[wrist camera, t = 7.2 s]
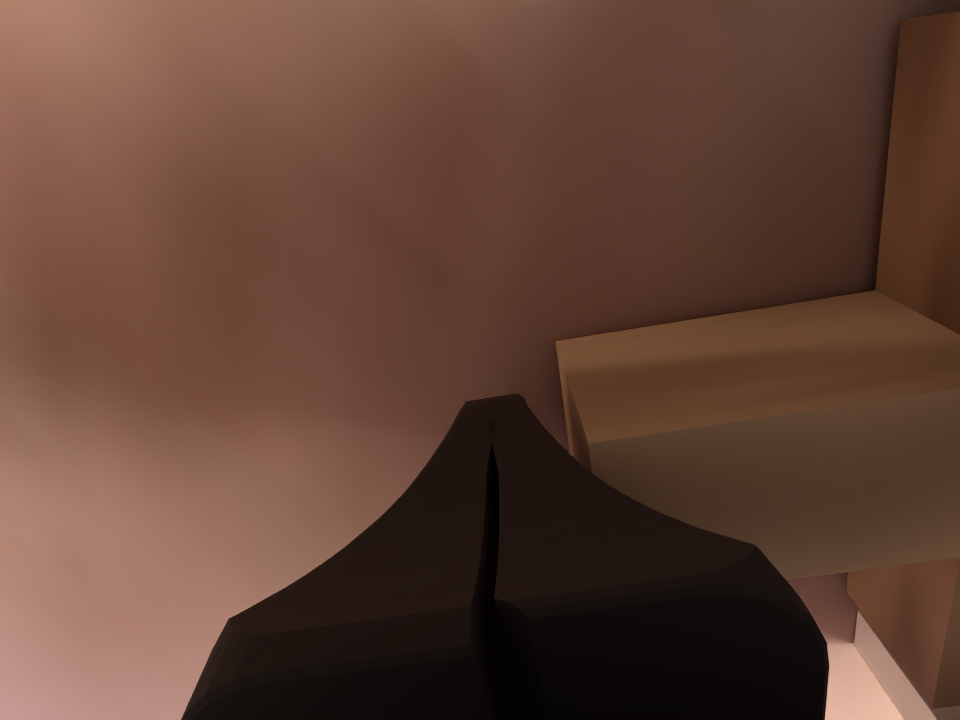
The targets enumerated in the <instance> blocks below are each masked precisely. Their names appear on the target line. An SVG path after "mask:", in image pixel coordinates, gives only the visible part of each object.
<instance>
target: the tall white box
mask: <svg viewBox="0 0 960 720" xmlns="http://www.w3.org/2000/svg"><path fill="white" fill-rule="evenodd" d="M854 646H855V648H856V649H857V651H858V652H859V654H860V655H861V657H862V658H863V660H864V661H865V663H866V664H867V665H868V667H869V668H870V670H871V671H872V673H873V674H874V676H875V677H876V679H877V680H878V682H879V683H880V685H881V686H882V688H883V689H884V691H885V692H886V694H887V695H888V697H889V698H890V699H891V701H892V702H893V704H894V705H895V707H896V708H897V710H898V711H899V713H900V714H901V716H902V717H903V719H904V720H960V705H959V706H951V707H943V708H935V709H932V708H931V707H930V706H929V704H928V703H927V702H926V700H925V699H924V697H923V696H922V695H921V693H920V692H919V691H918V689H917V688H916V687H915V685H914V684H913V682H912V681H911V680H910V678H909V677H908V676H907V674H906V673H905V671H904V670H903V669H902V667H901V666H900V665H899V663H898V662H897V661H896V659H895V658H894V656H893V655H892V654H891V652H890V651H889V650H888V648H887V647H886V645H885V644H884V643H883V641H882V640H881V639H880V637H879V636H878V635H877V633H876V632H875V630H874V629H873V628H872V626H871V625H870V624H869V622H868V621H867V620H866V618H865V617H864V615H863V614H862V613H861V611H860V610H858V612H857V621H856V631H855V640H854Z"/></svg>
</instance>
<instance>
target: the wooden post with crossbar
mask: <svg viewBox="0 0 960 720" xmlns="http://www.w3.org/2000/svg"><path fill="white" fill-rule="evenodd" d="M556 349H557V357H558V365H559V372H560V380H561V388H562V396H563V404H564V412H565V420H566V427H567V435H568V443H569V451H570V455H572V456H573V457H574V458H575V459H576V460H577V461H578V462H579V463H581V464H582V465H583V466H584V467H585V468H587V469H588V470H589V471H590V472H592V473H593V474H594V475H596V476H597V477H598V478H600V479H601V480H603V481H604V482H605V483H607V484H608V485H610V486H611V487H613V488H614V489H616V490H618V491H619V492H621V493H623V494H625V495H627V496H629V497H630V498H632V499H634V500H636V501H638V502H640V503H642V504H643V505H645V506H647V507H650V508H652V509H654V510H656V511H658V512H660V513H663V514H665V515H667V516H670V517H672V518H675V519H677V520H680V521H682V522H685V523H687V524H690V525H692V526H695V527H698V528H700V529H704V530H707V531H710V532H714V533H717V534H720V535H724V536H727V537H730V538H734V539H737V540H740V541H744V542H747V543H750V544H754V545H756V546H757V547H758V548H759V549H760V550H761V551H762V552H763V554H764V555H765V556H766V557H767V558H768V559H769V561H770V562H771V563H772V564H773V565H774V566H775V568H776V569H777V570H778V571H779V572H780V573H781V575H782V576H783V577H784V578H785V580H786V581H787V580H794V579H801V578H809V577H816V576H824V575H831V574H838V573H846V572H848V578H847V589H846V592H847V594H848V595H849V596H850V598H851V599H852V600H853V602H854V603H855V604H856V606H857V607H858V609H859V610H860V611H861V613H862V614H863V615H864V617H865V618H866V620H867V621H868V622H869V624H870V625H871V626H872V628H873V629H874V630H875V632H876V633H877V635H878V636H879V637H880V639H881V640H882V641H883V643H884V644H885V645H886V647H887V648H888V650H889V651H890V652H891V654H892V655H893V656H894V658H895V659H896V661H897V662H898V663H899V665H900V666H901V667H902V669H903V670H904V671H905V673H906V674H907V676H908V677H909V678H910V680H911V681H912V682H913V684H914V685H915V687H916V688H917V689H918V691H919V692H920V693H921V695H922V696H923V697H924V699H925V700H926V702H927V703H928V704H929V706H930V707H931V708H932V709H935V708H943V707H951V706H959V705H960V10H955V11H949V12H944V13H938V14H933V15H927V16H922V17H916V18H911V19H905V20H901V26H900V37H899V47H898V58H897V68H896V79H895V89H894V99H893V110H892V120H891V131H890V141H889V151H888V162H887V172H886V183H885V193H884V204H883V214H882V224H881V235H880V245H879V256H878V266H877V276H876V287H875V290H874V291H868V292H862V293H855V294H849V295H843V296H836V297H830V298H824V299H817V300H811V301H805V302H799V303H792V304H786V305H780V306H773V307H767V308H761V309H755V310H748V311H742V312H736V313H729V314H723V315H717V316H710V317H704V318H698V319H692V320H685V321H679V322H673V323H666V324H660V325H654V326H647V327H641V328H635V329H629V330H622V331H616V332H610V333H603V334H597V335H591V336H584V337H578V338H572V339H566V340H559V341H556Z"/></svg>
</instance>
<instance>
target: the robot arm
mask: <svg viewBox="0 0 960 720" xmlns="http://www.w3.org/2000/svg"><path fill="white" fill-rule="evenodd" d="M828 674H829V660H828V651H827V642H826V641H825V639H824V637H823V635H822V633H821V631H820V630H819V628H818V626H817V624H816V622H815V620H814V619H813V617H812V615H811V614H810V612H809V610H808V609H807V607H806V606H805V604H804V603H803V601H802V600H801V598H800V597H799V596H798V594H797V593H796V592H795V590H794V589H793V588H792V587H791V586H790V584H789V583H788V582H787V581H786V580H785V578H784V577H783V576H782V575H781V573H780V572H779V571H778V570H777V569H776V568H775V566H774V565H773V564H772V563H771V562H770V561H769V559H768V558H767V557H766V556H765V555H764V554H763V552H762V551H761V550H760V549H759V548H758V547H757V546H756V545H754V544H750V543H747V542H744V541H740V540H737V539H734V538H730V537H727V536H724V535H720V534H717V533H714V532H710V531H707V530H704V529H700V528H698V527H695V526H692V525H690V524H687V523H685V522H682V521H680V520H677V519H675V518H672V517H670V516H667V515H665V514H663V513H660V512H658V511H656V510H654V509H652V508H650V507H647V506H645V505H643V504H642V503H640V502H638V501H636V500H634V499H632V498H630V497H629V496H627V495H625V494H623V493H621V492H619V491H618V490H616V489H614V488H613V487H611V486H610V485H608V484H607V483H605V482H604V481H603V480H601V479H600V478H598V477H597V476H596V475H594V474H593V473H592V472H590V471H589V470H588V469H587V468H585V467H584V466H583V465H582V464H581V463H579V462H578V461H577V460H576V459H575V458H574V457H573V456H572V455H570V454H569V453H568V452H567V451H566V450H565V449H564V448H563V447H562V446H561V445H560V444H559V443H558V442H557V441H556V440H555V439H554V438H553V437H552V436H551V434H550V433H549V432H548V431H547V430H546V429H545V428H544V427H543V426H542V424H541V423H540V422H539V421H538V419H537V418H536V417H535V415H534V414H533V413H532V411H531V410H530V408H529V407H528V405H527V403H526V401H525V399H524V398H523V397H522V396H521V395H519V394H512V395H505V396H499V397H492V398H486V399H480V400H473V401H467V402H466V403H465V404H464V405H463V407H462V408H461V410H460V412H459V414H458V415H457V417H456V419H455V421H454V423H453V424H452V426H451V428H450V429H449V431H448V433H447V434H446V436H445V438H444V439H443V441H442V442H441V444H440V445H439V447H438V448H437V450H436V452H435V453H434V455H433V456H432V458H431V459H430V460H429V462H428V463H427V465H426V466H425V467H424V468H423V470H422V471H421V472H420V474H419V475H418V476H417V478H416V479H415V480H414V482H413V483H412V484H411V485H410V487H409V488H408V489H407V490H406V491H405V493H404V494H403V495H402V496H401V497H400V498H399V499H398V500H397V501H396V502H395V503H394V504H393V505H392V506H391V507H390V508H389V509H388V510H387V511H386V512H385V513H384V514H383V515H382V516H381V517H380V518H379V519H378V520H377V521H375V522H374V523H373V524H372V525H371V526H369V527H368V528H367V529H366V530H365V531H364V532H362V533H361V534H360V535H359V536H358V537H356V538H355V539H354V540H353V541H352V542H351V543H349V544H348V545H347V546H346V547H345V548H343V549H342V550H341V551H339V552H338V553H337V554H335V555H334V556H332V557H331V558H330V559H328V560H327V561H325V562H324V563H323V564H321V565H320V566H318V567H317V568H315V569H314V570H312V571H311V572H309V573H308V574H306V575H305V576H303V577H302V578H300V579H299V580H297V581H295V582H294V583H292V584H291V585H289V586H287V587H286V588H284V589H282V590H280V591H279V592H277V593H275V594H273V595H272V596H270V597H268V598H266V599H264V600H263V601H261V602H259V603H257V604H256V605H254V606H252V607H250V608H248V609H247V610H245V611H243V612H241V613H239V614H237V615H235V616H233V617H231V618H229V620H228V622H227V623H226V625H225V627H224V629H223V631H222V633H221V635H220V636H219V638H218V640H217V642H216V644H215V646H214V648H213V649H212V651H211V654H210V656H209V658H208V660H207V663H206V665H205V667H204V669H203V672H202V674H201V676H200V678H199V681H198V683H197V685H196V687H195V690H194V692H193V694H192V696H191V699H190V701H189V703H188V705H187V708H186V710H185V712H184V714H183V717H182V719H181V720H825V710H826V698H827V686H828Z"/></svg>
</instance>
